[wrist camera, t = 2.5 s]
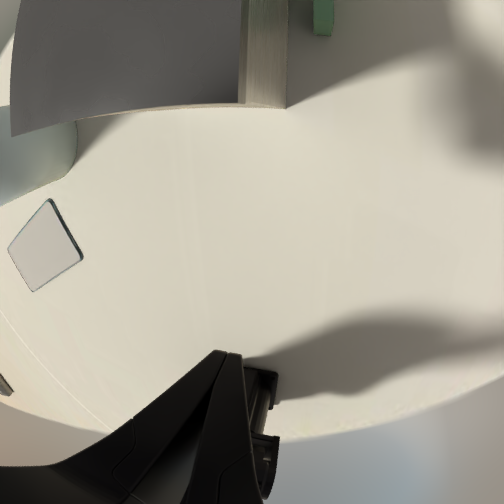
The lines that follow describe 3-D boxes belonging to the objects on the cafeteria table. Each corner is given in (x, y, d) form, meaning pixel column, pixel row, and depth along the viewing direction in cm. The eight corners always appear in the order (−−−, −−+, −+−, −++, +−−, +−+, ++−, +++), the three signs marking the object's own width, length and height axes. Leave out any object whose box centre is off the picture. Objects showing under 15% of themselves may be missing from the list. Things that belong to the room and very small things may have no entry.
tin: (287, 110, 15) (238, 103, 5) (161, 111, 17) (11, 137, 7) (290, -8, 12) (250, -131, 1) (165, 4, 13) (35, -48, 3)
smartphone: (84, 259, 24) (32, 293, 29) (87, 256, 24) (34, 291, 30) (49, 196, 22) (6, 249, 27) (53, 194, 22) (9, 247, 28)
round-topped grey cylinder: (81, 179, 20) (-3, 220, 12) (33, 181, 22) (-37, 216, 14) (76, 90, 17) (-17, 102, 9) (26, 107, 18) (-50, 126, 10)
